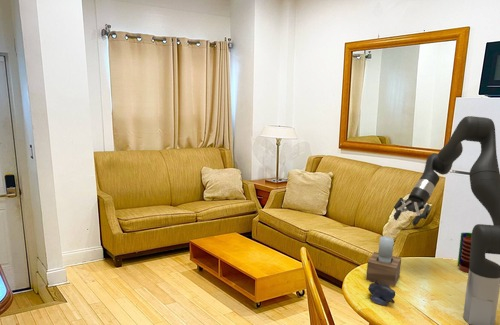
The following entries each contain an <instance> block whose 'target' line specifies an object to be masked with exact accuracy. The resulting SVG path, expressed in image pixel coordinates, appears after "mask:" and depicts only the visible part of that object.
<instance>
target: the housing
mask: <svg viewBox="0 0 500 325" xmlns="http://www.w3.org/2000/svg"><path fill="white" fill-rule="evenodd" d="M401 264H402V257H398V256H394V255H392V257H391V264H390V263H385V262H381V261H379V255H378V252H377V251H376V252H375V251H374V252H373V253H372V255H371V256H370V258H369V259H368V261H367V264H366V265H367V266H366V277H365V278H366V279H365V281H369V282H372V283H374V282H375V281H376V280H378V281H377V282H376V283H378V282H379V281H381V282H379V284H386V285H388V286H389V287H390V288H391V287H392V288H395V287H396V285H397V283H398V281H399V278H400V276H401V274H400V273H401Z"/></svg>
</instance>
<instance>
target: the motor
mask: <svg viewBox="0 0 500 325" xmlns="http://www.w3.org/2000/svg"><path fill="white" fill-rule="evenodd" d="M471 235H472V232H461V233H460V240H459V250H458V257H457V264H456V265H457V267H458V270H459V271H461V272H463V273H466V274H469V266H470V249H471Z"/></svg>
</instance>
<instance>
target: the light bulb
mask: <svg viewBox="0 0 500 325" xmlns="http://www.w3.org/2000/svg"><path fill="white" fill-rule="evenodd" d="M394 240H395V239H394V238H393V237H390V236H379V243H378V252H377V253H378V255H379V261H381V262H385V263H390V264H391V257H392V256H393V254H394V253H393V252H394Z"/></svg>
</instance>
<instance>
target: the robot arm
mask: <svg viewBox="0 0 500 325" xmlns="http://www.w3.org/2000/svg"><path fill="white" fill-rule="evenodd" d="M496 136H497V135H496V126H495V123H494V121H493V119H491V118H488V117H481V116H474V115H471V116H470V115H469V116H468V115H467V116H465V117H463V118H462V119H461V120H460V121H459V123H458V124H457V126H456V127H455V129H454V131H453V133H452V135H451V136H450V138H449V140H448V142H447V143H446V144H445V145H444V146H443V147H442V148H441V149H440V150H439V151H438V153H435V152H434V153H431V154H429V155H428V156H427V158H426V161H425V164H424V166H425V167H424V171H422V175H421V176H420V178H419V179H418V180H417V182H416V184H414V186H413V188H412V189H411V192H410V193H409V195H408V198H407V199H404V198H403V197H399V199H398V200H397V201H396V203H395V205H394V206H393V208H394V211H395V212H394V214H393V219H394V220H395V221H398V220H399V218H400V216H401V214H402V213H404V212H405V213H406V212H407V211H408V212H413V213H416V215H415V217H414V218H413V220H412V221H411V223H412V225H413V226H414V227H415V226H417V225H418V224H419V222H420V220H423V219H424V220H426V219H428V217H429V214H430V213H431V210H432V207H431V205H430V204H429V203H428V202H429V199H430V197H432V194H433V193H434V190H435V188H436V186H437V184H438V183H439V181H440V176H439V175H442V176H443V175H447V174H449V173H450V171H451V169H452V167H453V163H454V162H455V161H456V160H457V159H458V158H460V156H461V155H462V153H463V151H464V150H463V149H464V147H463V143H462V142H463V141H466V142H467V141H468V142H475V143H479V144H480V153H479V156H478V157H477V159H476V161H474V163H473V165H472V166H471V168H470V171H469V184H470V189H471V192H472V194H473V196H474V197H475V198H476V199H477V201H478V202H479V203H480V204H481V205H482V207H484V209H485V210H486V211H487V213H488V214H489V216H490V219H491V221H492V224H484V223H483V224H482V223H480V224H475V225H473V228H472V231H471V233H472V235H471V249H470V266H469V274H468V273H467V274H468V275H467V282H466V291H465V298H464V306H463V312H462V313H463V314H462V317H463V319H464V321H466V322H467V324H468V325H496V317H497V312H498V304H499V297H500V264H498V263H497V262H495V261H493V260H490V259H488V258H486V254H489V255H490V254H491V255H500V168H499V162H498V155H497V138H496ZM437 173H438V174H439V175H438V174H437ZM421 210H422V211H423V212H421Z"/></svg>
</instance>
